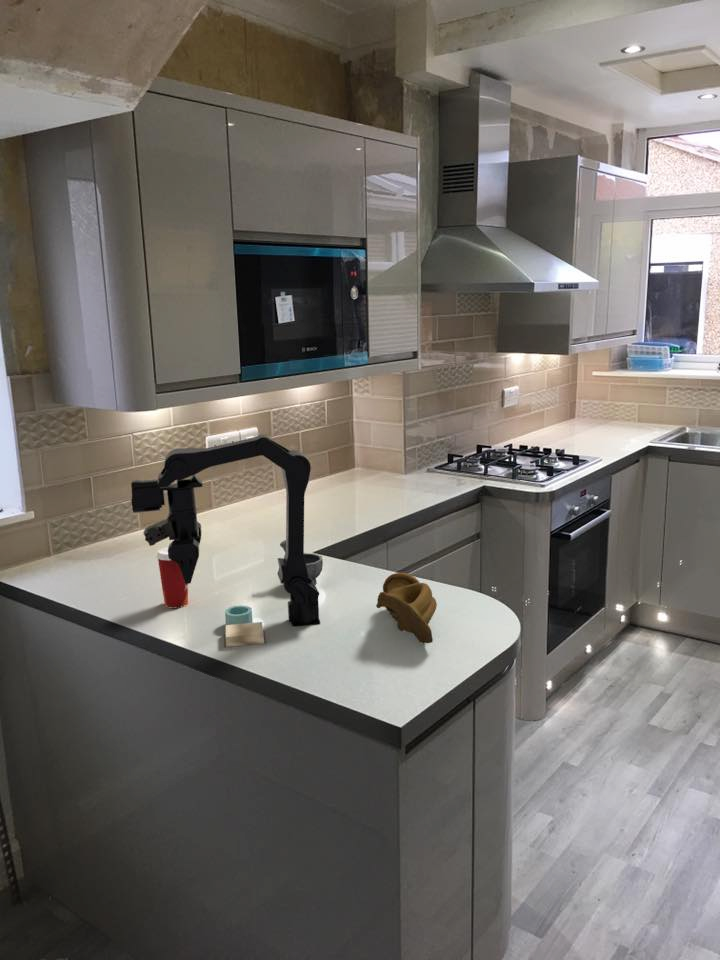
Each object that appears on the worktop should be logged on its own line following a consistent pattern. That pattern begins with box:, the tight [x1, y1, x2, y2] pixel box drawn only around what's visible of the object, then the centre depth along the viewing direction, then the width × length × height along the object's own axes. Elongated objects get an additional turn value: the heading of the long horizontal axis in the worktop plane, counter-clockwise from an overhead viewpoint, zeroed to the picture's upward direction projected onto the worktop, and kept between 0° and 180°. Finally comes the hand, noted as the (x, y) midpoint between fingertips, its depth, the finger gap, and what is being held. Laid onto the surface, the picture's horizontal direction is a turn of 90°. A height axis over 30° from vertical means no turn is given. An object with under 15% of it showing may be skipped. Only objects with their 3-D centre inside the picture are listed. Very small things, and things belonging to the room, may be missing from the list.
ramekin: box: [224, 605, 254, 626], centre depth 178 cm, size 6×6×4 cm
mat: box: [223, 630, 267, 649], centre depth 171 cm, size 9×7×1 cm
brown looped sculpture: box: [375, 572, 437, 644], centre depth 174 cm, size 18×13×22 cm
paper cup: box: [156, 546, 189, 608], centre depth 192 cm, size 8×8×14 cm
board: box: [225, 621, 264, 648], centre depth 171 cm, size 8×6×2 cm
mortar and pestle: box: [279, 539, 324, 586], centre depth 204 cm, size 11×9×12 cm
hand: (189, 576), depth 172 cm, fingers open, 9 cm apart
